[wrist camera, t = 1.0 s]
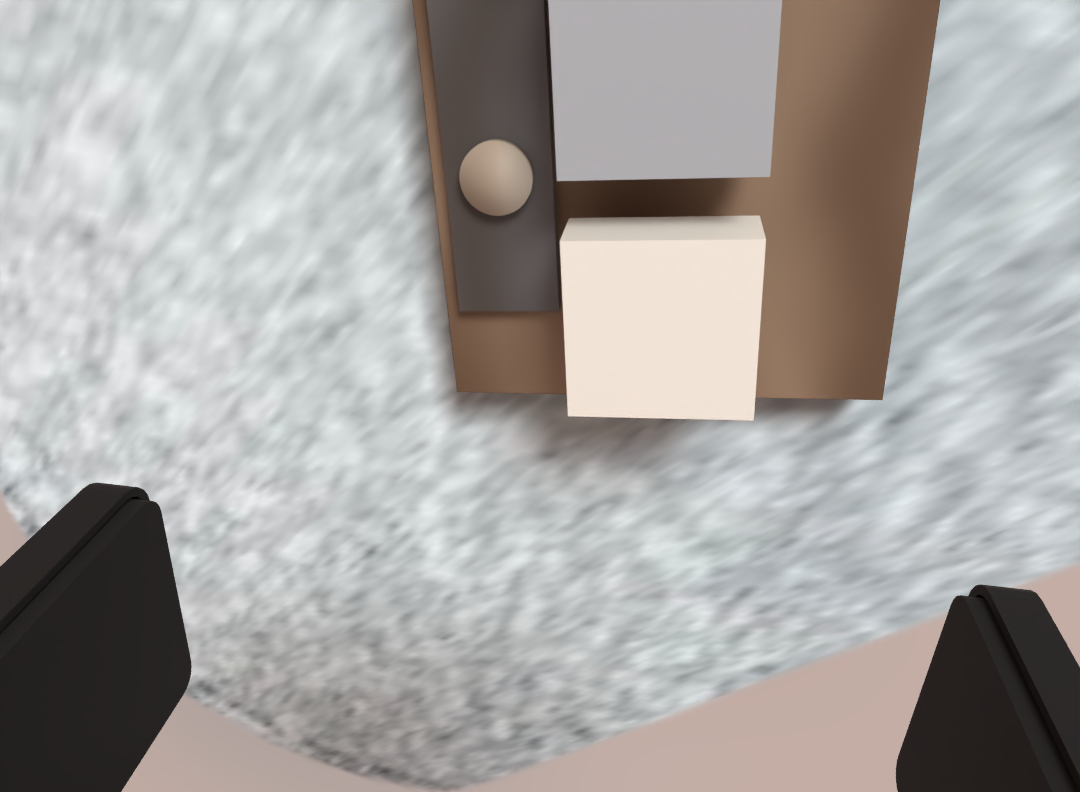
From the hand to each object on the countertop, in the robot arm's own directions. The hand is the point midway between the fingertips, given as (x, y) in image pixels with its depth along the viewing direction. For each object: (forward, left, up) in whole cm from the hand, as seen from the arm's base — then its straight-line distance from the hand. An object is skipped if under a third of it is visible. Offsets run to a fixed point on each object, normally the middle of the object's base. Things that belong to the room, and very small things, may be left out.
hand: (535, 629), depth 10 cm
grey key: (-1, -5, -15) cm, 16 cm away
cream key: (-1, +2, -15) cm, 15 cm away
